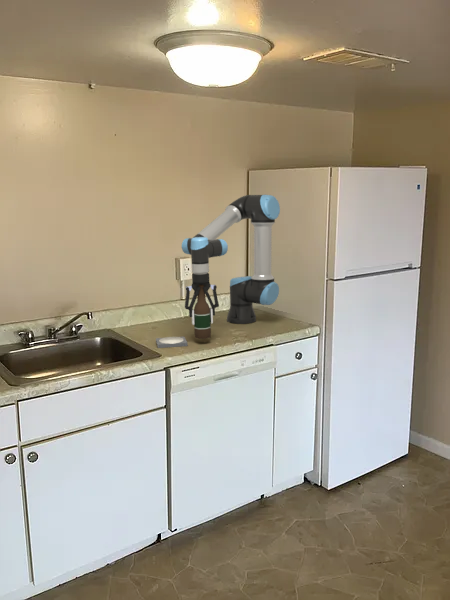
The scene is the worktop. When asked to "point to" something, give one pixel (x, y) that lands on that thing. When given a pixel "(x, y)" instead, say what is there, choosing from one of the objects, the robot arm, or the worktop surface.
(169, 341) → the grey soap dish
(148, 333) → the worktop surface
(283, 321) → the worktop surface
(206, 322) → the beer bottle
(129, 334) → the worktop surface
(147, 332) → the worktop surface
